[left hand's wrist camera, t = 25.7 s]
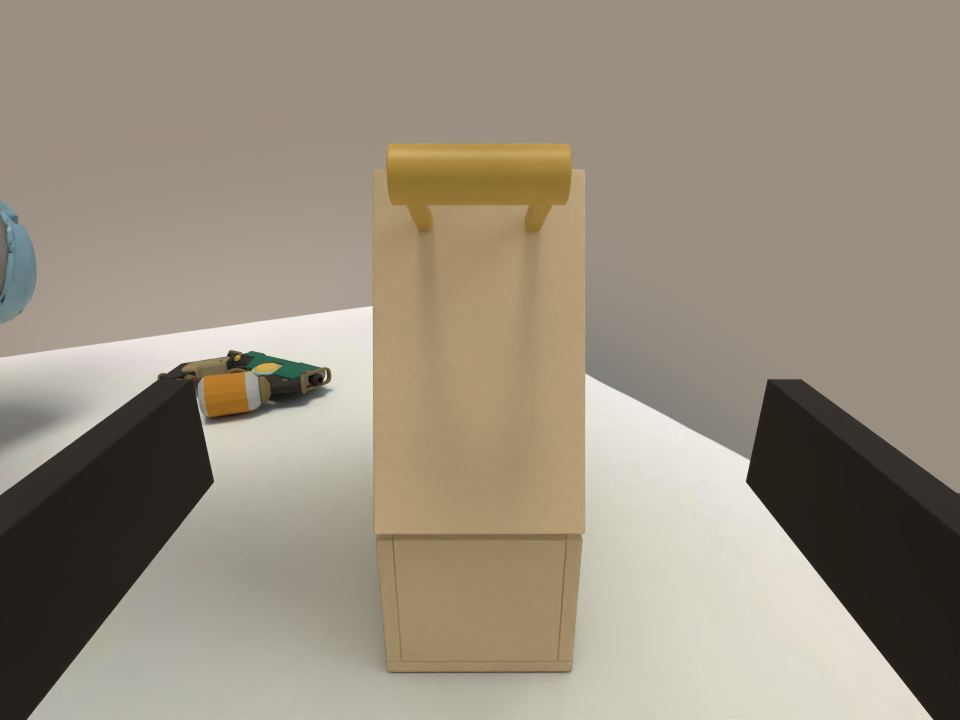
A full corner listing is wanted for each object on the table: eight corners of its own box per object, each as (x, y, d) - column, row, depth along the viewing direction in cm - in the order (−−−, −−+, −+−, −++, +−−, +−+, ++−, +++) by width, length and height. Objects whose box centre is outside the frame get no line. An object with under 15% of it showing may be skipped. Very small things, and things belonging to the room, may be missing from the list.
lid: (375, 174, 26) (325, 87, 17) (582, 174, 26) (632, 87, 18) (376, 529, 26) (327, 613, 18) (582, 528, 26) (631, 612, 18)
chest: (418, 490, 45) (413, 392, 41) (539, 489, 45) (544, 392, 41) (387, 672, 29) (375, 539, 26) (571, 672, 29) (583, 539, 26)
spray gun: (156, 390, 64) (281, 363, 73) (197, 435, 52) (340, 396, 61) (149, 355, 62) (277, 332, 72) (189, 394, 50) (337, 360, 60)
